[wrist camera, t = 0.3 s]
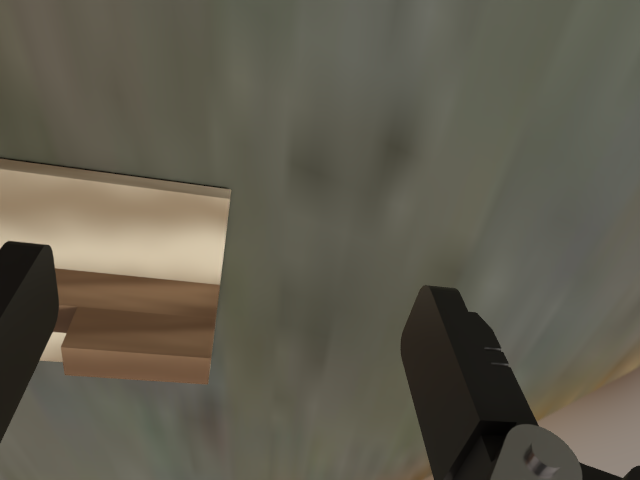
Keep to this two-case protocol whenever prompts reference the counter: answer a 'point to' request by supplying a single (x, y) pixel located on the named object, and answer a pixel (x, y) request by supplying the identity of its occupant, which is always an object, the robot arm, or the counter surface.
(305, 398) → the counter surface
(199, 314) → the walnut slotted plate
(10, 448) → the counter surface
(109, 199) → the birch board
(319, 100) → the counter surface
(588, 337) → the counter surface
